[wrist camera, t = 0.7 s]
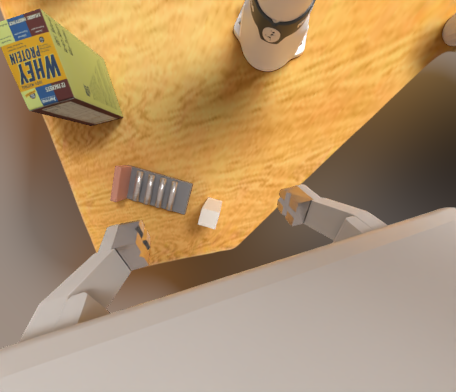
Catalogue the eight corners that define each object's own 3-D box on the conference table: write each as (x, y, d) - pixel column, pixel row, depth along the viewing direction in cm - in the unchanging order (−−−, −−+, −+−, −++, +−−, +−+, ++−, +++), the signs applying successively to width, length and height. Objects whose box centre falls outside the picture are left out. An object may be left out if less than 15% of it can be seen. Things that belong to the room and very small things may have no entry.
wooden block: (208, 197, 53) (202, 207, 41) (222, 201, 53) (219, 212, 41) (204, 210, 54) (197, 224, 42) (218, 214, 54) (215, 229, 42)
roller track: (129, 165, 51) (115, 165, 45) (192, 183, 52) (187, 186, 46) (124, 196, 53) (110, 200, 47) (185, 213, 54) (179, 220, 48)
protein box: (103, 58, 45) (39, 6, 30) (124, 117, 48) (75, 98, 33) (68, 68, 46) (-12, 23, 31) (90, 126, 49) (27, 111, 34)
